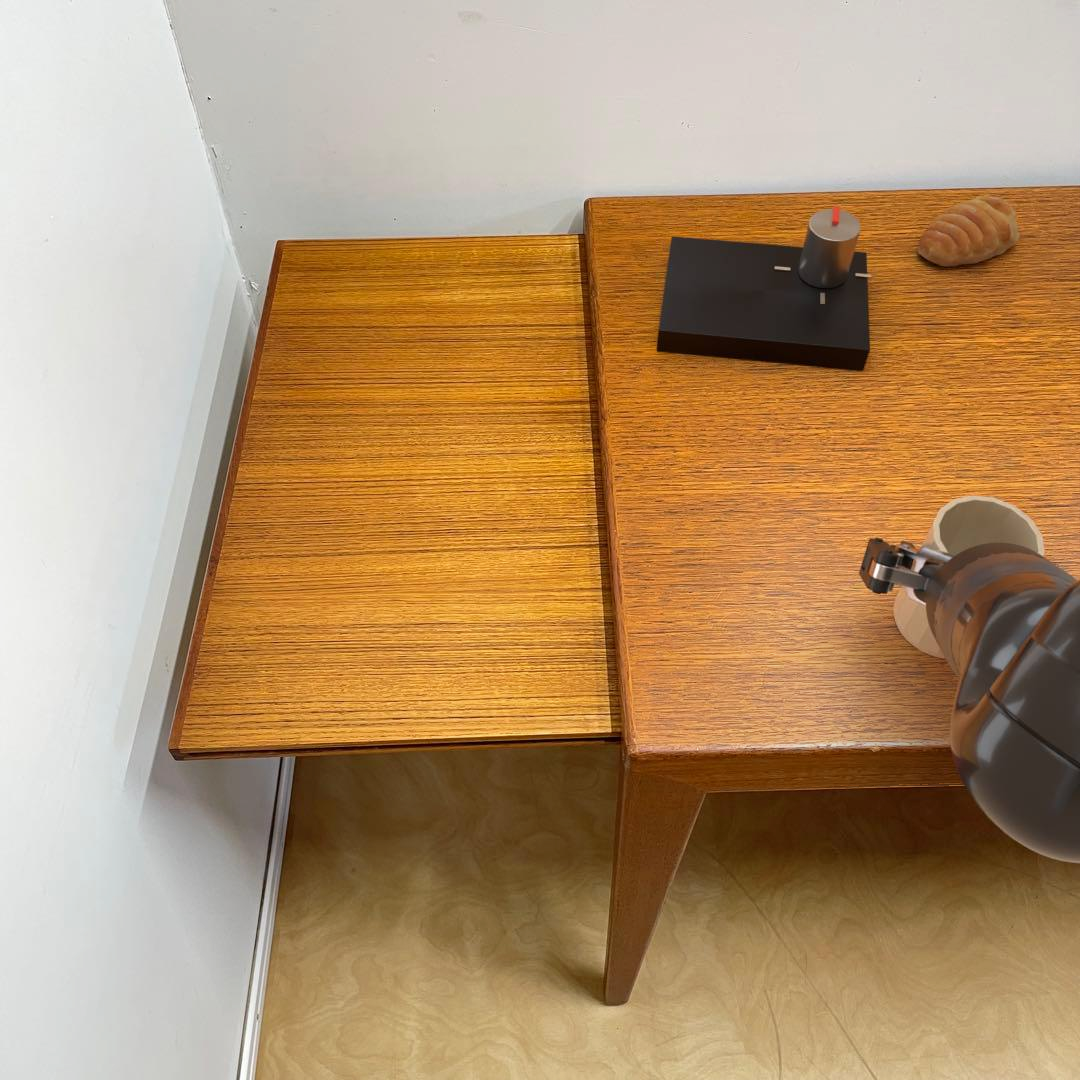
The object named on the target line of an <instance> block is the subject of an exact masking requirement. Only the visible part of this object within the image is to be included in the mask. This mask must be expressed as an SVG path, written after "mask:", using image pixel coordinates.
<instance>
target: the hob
mask: <svg viewBox="0 0 1080 1080" xmlns="http://www.w3.org/2000/svg"><path fill="white" fill-rule="evenodd" d="M802 250H803V246H795V245H794V246H791V245H781V244H768V243H758V242H757V243H756V242H746V241H733V240H722V239H721V240H719V239H708V238H696V237H685V236H673V235H672V236H671V238H670V246H669V252H668V259H667V267H666V272H665V273H666V274H665V281H664V287H663V295H662V300H661V301H662V303H661V310H660V315H659V316H660V317H659V322H658V330H657V341H656V352H664V353H675V354H682V355H683V354H685V355H695V356H703V357H704V356H705V357H715V358H725V359H736V360H744V361H745V360H746V361H758V362H766V363H778V364H789V365H798V366H799V365H800V366H808V367H820V368H828V369H829V368H830V369H840V370H849V371H850V370H851V371H860V372H861V371H862V372H863V371H864V370H865V366H866V364H867V361H868V357H869V354H870V351H871V341H870V340H871V339H870V336H871V335H870V315H869V314H870V313H869V312H870V311H869V310H870V309H869V307H870V306H869V285H868V284H869V283H868V279H872V274H871V273H870V274H869V273H868V256H867V255H868V253H867V251H856V250H855V251H854V255H853V258H852V262H851V265H850V269H849V272H848V276H847V279H846V280H845V281H844V283H842V284H841V285H839V286H837V287H833V288H818V287H814V286H812V285H809V284H808V283H806V282H805V281H803V280H802V278H801V277H800V275H799V272H798V268H799V263H800V259H801V255H802Z"/></svg>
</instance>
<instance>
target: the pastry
mask: <svg viewBox="0 0 1080 1080" xmlns="http://www.w3.org/2000/svg"><path fill="white" fill-rule="evenodd" d="M1019 240H1020V232H1019V224H1018V221H1017V213H1016V211H1015V208H1013V207H1012V205H1011V204H1010V203H1008V201H1006V200H1005V199H1004V198H1002V197H998V196H991V195H990V194H987V193H986V194H983V195H979V196H975V197H974V198H973V199H970V200H965V201H962V202H959V203H958V204H954V205H952V206H951V207H950V208H948V209H946V210H944V211H942V212H941V213H940V214H939V215H937V216H935V218H934V219H933V221H931V222H930V223H929V225H928V227H927V228H926V229H925V231H924V232H923V233H921V235H920V237H919V243H918V247H917V254H919V255H921V257H923V258H924V259H926V260H927V261H929V262H931V263H933V264H936V265H938V266H940V267H941V266H942V267H945V268H948V267H957V266H960V265H969V266H970V265H973V264H978V263H979V262H980V263H981V262H985V261H987V260H989V259H992V258H994V257H995V256H996V257H997V256H1000V255H1002V254H1004V253H1006V251H1008V250H1009V249H1011V248H1012V247H1013V246H1014V245H1016V244H1017V243H1018V242H1019Z"/></svg>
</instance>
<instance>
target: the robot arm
mask: <svg viewBox="0 0 1080 1080" xmlns="http://www.w3.org/2000/svg"><path fill="white" fill-rule="evenodd" d="M920 548H921V547H920ZM920 548H919V549H917V548H916V546H915V545H914V544H913V543H912V542H908V541H904V540H901V541H900V543H897V544H890V543H889V542H887V541H884V539H883V538H881V537H875V538H872V537H869V538H868V542H867V545H866V548H865V552H864V555H863V558H862V561H861V565H860V568H859V572H858V575H859V576H860V578H861V580H862V582H863V584H864V586H865V587H866V588H867V589H868V590H869V591H871V592H872V593H874V594H877V595H881V594H883V595H887V594H888V592H890V593H891V592H893V591H894V588H895V586H898V587H900V588H901V587H903V588H905V590H906V595H907V597H908V598H909V599H911V600H913V601H915V602H917V603H919V604H921V605H924V606H926V613H927V619H928V623H929V626H930V629H931V632H932V634H933V636H934V638H935V640H936V642H937V644H938V646H939V647H940V649H941V651H942V653H943V655H944V657H945V659H944V660H945V661H946V663H947V664H948V666H949V668H950V669H951V670H952V672H953V673H954V674H955V676H956V677H957V678H958V682H957V685H956V690H955V691H956V692H955V695H954V700H953V704H952V705H953V706H952V710H951V714H950V722H949V743H950V751H951V755H952V759H953V762H954V766H955V768H956V771H957V773H958V776H959V778H960V780H961V782H962V783H963V785H964V787H965V789H966V790H967V792H968V794H969V795H970V797H971V798H972V800H973V801H974V802H975V804H976V805H977V807H979V809H980V810H981V811H982V812H983V814H984V815H985V816H986V818H988V819H989V820H990V821H991V822H992V823H993V824H994V825H995V826H996V827H997V828H998V829H1000V830H1001V831H1002V832H1003V833H1004V834H1005V835H1007V836H1008V837H1009V838H1011V839H1012V840H1014V841H1015V842H1017V843H1018V844H1020V845H1022V846H1023V847H1025V848H1027V849H1029V850H1030V851H1033V852H1034V853H1037V854H1039V855H1041V856H1044V857H1047V858H1049V859H1053V860H1056V861H1060V862H1065V863H1071V864H1072V863H1074V864H1080V579H1078V580H1077V579H1076V578H1075V577H1074V576H1073V575H1071V573H1068V572H1067V571H1066V570H1065V569H1063V568H1061V567H1059V565H1057V564H1055V563H1053V561H1051V560H1050V559H1048V558H1046V557H1045V556H1044V557H1043V556H1042V555H1040V554H1038V553H1037V552H1035V551H1033V550H1031V549H1028V548H1026V547H1023V546H1020V545H1016V544H1010V543H987V544H981V545H977V546H974V547H971V548H969V549H966V550H964V551H962V552H960V553H959V554H957V555H955V556H954V555H951V554H949V553H946V552H943V551H941V550H936V549H931V548H921V549H920ZM914 560H915V567H914V570H911V567H912V564H913V562H914ZM940 563H944V565H939V564H940Z"/></svg>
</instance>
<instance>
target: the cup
mask: <svg viewBox="0 0 1080 1080" xmlns="http://www.w3.org/2000/svg"><path fill="white" fill-rule="evenodd" d="M1043 537H1044V536H1043V534H1042V532H1041V531H1040V529H1039V528H1038V526H1037V525H1036V523H1035V522H1034V520H1033V519H1032V518H1031V517H1030V516H1028V515H1027V514H1026V513H1025V512H1023V511H1022V510H1021V509H1020V508H1018V507H1017V506H1015V505H1014V504H1011V503H1009V502H1006V501H1004V500H1002V499H999V498H997V497H993V496H985V495H984V496H983V495H976V494H975V495H974V494H973V495H968V496H967V495H966V496H963V497H958V498H954V499H952V500H951V501H949V502H948V503H946V504H945V505H943V506H942V507H940V509H938V512H937V514H936V516H935V517H934V521H933V522H932V524H931V526H930V528H929V529H928V532H927V534H926V535H925V538H924V540H923V542H922V544H921V545H920V548H919V550H920V549H921V548H931V549H936V550H941V551H943V552H946V553H949V554H951V555H954V556H955V555H957V554H959V553H960V552H962V551H964V550H966V549H969V548H971V547H974V546H977V545H981V544H987V543H1010V544H1016V545H1020V546H1023V547H1026V548H1028V549H1031V550H1033V551H1035V552H1037V553H1038V554H1040V555H1042V556H1043V557H1045V554H1046V550H1045V543H1044V538H1043ZM939 565H944V563H940V564H939ZM914 567H915V560H914V561H913V564H912V567H911V570H914ZM892 614H893V619H894V623H895V624H896V627H897V629H898V631H899V633H900V634H901V635H902V637H903V638H904V639H905V640H906V641H907V642H909V644H910V645H912V646H913V647H914V648H916V649H917V650H919V651H921V652H922V653H924V654H927V655H929V656H931V657H935V658H939V659H943V660H946V659H945V657H944V655H943V653H942V651H941V649H940V647H939V646H938V644H937V642H936V640H935V638H934V636H933V634H932V632H931V629H930V626H929V623H928V619H927V613H926V606H924V605H921V604H919V603H917V602H915V601H913V600H911V599H909V598H908V597H907V595H906V590H905V588H903V587H901V586H900V588H899V590H898V592H897V594H896V596H895V598H894V601H893V607H892Z"/></svg>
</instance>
